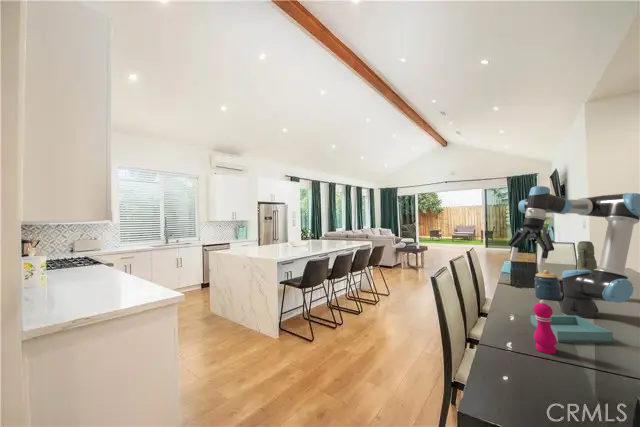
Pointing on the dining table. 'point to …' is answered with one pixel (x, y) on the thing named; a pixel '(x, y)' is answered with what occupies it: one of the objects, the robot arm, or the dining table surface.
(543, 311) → the pepper mill
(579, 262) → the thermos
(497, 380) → the dining table surface
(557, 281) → the canister
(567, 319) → the tray
